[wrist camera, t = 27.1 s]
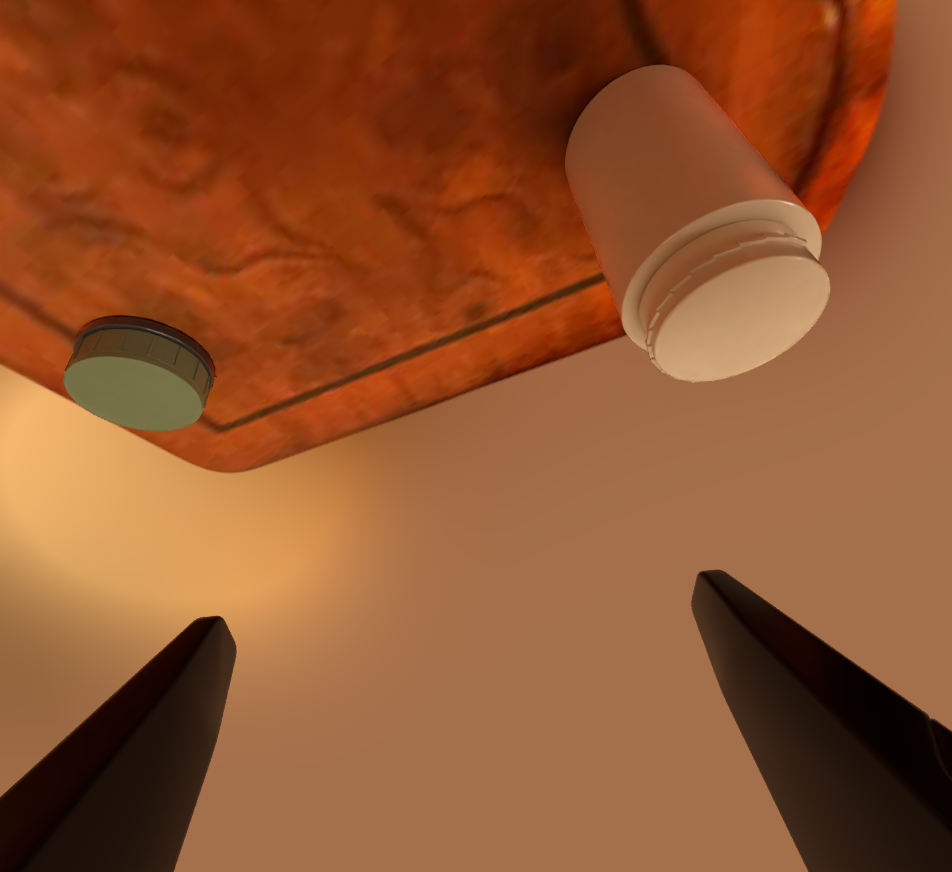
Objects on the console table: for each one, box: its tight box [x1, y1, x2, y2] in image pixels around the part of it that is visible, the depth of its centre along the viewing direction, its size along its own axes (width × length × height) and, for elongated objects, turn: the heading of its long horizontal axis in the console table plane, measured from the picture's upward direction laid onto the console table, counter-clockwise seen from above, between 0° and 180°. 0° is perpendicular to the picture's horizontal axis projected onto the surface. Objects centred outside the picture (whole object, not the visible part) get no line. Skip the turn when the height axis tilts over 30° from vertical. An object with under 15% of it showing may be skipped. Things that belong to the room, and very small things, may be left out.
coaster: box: [73, 316, 215, 391], centre depth 26 cm, size 6×6×1 cm
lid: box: [63, 329, 210, 431], centre depth 25 cm, size 6×6×2 cm
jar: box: [565, 65, 830, 382], centre depth 16 cm, size 6×6×10 cm
